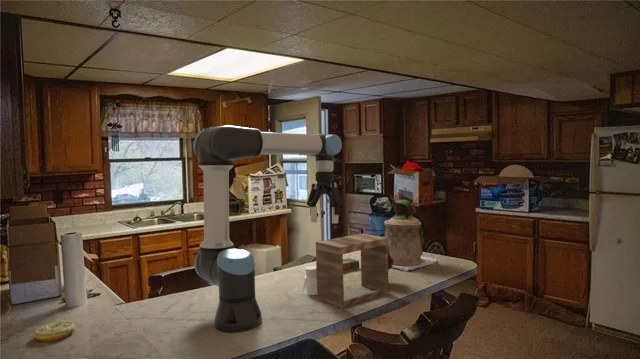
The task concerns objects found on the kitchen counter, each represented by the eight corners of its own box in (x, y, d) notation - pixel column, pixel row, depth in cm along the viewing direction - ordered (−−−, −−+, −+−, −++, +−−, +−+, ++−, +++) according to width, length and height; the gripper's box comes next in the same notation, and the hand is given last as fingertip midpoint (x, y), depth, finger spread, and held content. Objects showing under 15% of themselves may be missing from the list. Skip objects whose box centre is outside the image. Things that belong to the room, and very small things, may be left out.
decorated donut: (83, 331, 139) (82, 320, 139) (51, 345, 129) (50, 333, 129) (60, 327, 143) (59, 316, 143) (27, 340, 133) (26, 328, 133)
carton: (321, 271, 203) (321, 262, 202) (348, 265, 212) (348, 257, 212) (332, 275, 196) (332, 265, 196) (359, 269, 205) (359, 260, 205)
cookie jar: (409, 272, 195) (407, 202, 193) (367, 263, 213) (366, 199, 212) (439, 262, 212) (438, 197, 210) (398, 255, 230) (397, 194, 228)
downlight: (316, 288, 176) (315, 264, 176) (326, 292, 171) (324, 267, 170) (299, 292, 172) (298, 268, 171) (309, 297, 166) (307, 271, 165)
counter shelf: (341, 307, 153) (339, 247, 152) (317, 298, 164) (315, 241, 163) (388, 293, 167) (387, 237, 166) (363, 285, 178) (362, 233, 177)
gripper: (351, 170, 173) (351, 223, 172) (312, 173, 192) (312, 221, 191) (338, 169, 169) (337, 223, 167) (299, 172, 188) (298, 222, 186)
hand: (324, 222), depth 179 cm, fingers open, 13 cm apart
